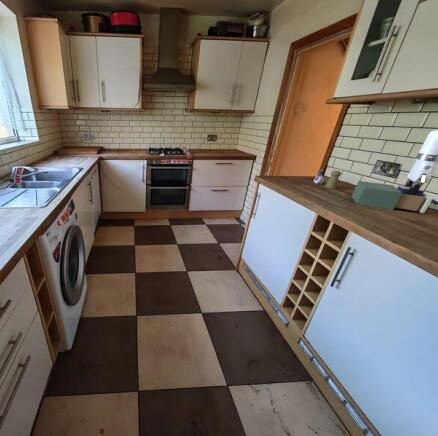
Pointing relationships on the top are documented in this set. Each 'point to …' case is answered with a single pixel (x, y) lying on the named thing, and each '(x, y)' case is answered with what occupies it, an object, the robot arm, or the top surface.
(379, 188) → the green faceted block
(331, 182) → the beige upright figurine
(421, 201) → the drawer
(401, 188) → the notebook
